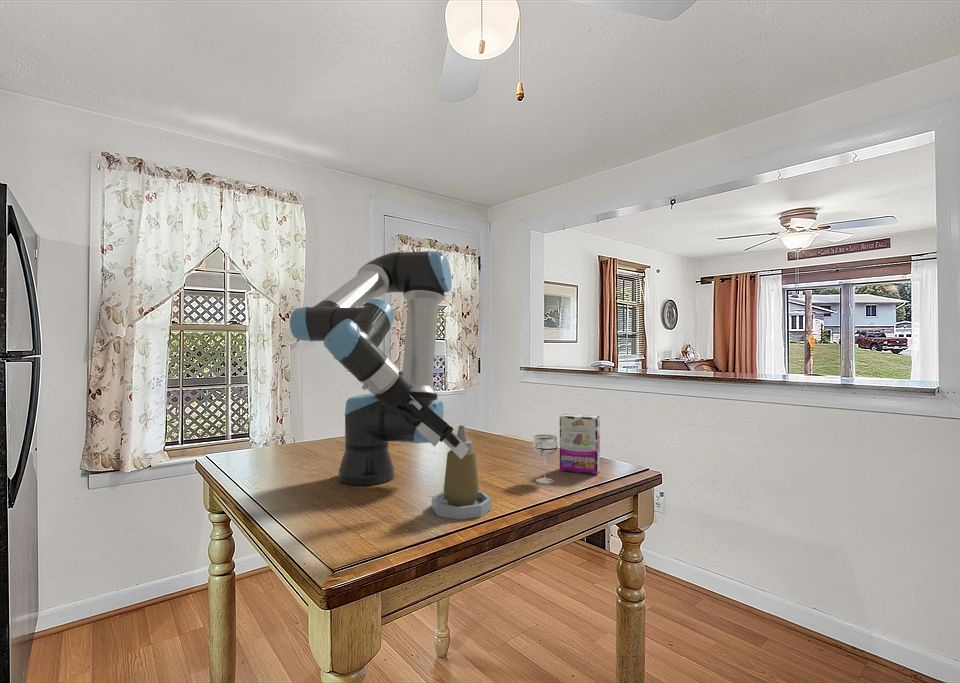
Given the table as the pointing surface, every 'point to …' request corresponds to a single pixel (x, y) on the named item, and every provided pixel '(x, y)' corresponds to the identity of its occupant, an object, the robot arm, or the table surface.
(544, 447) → the wineglass
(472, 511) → the octagonal tray
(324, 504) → the table surface
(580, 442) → the candy bar box
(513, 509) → the table surface
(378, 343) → the robot arm
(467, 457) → the squeeze bottle
